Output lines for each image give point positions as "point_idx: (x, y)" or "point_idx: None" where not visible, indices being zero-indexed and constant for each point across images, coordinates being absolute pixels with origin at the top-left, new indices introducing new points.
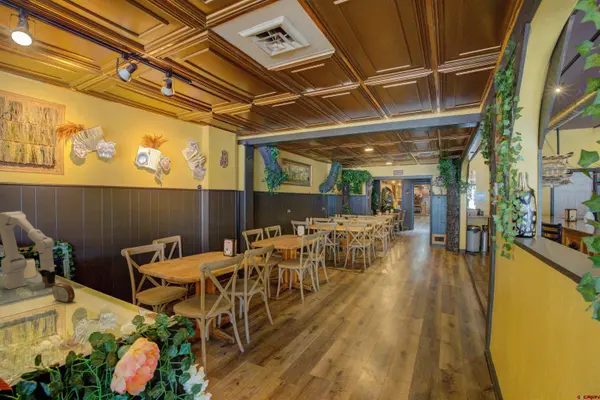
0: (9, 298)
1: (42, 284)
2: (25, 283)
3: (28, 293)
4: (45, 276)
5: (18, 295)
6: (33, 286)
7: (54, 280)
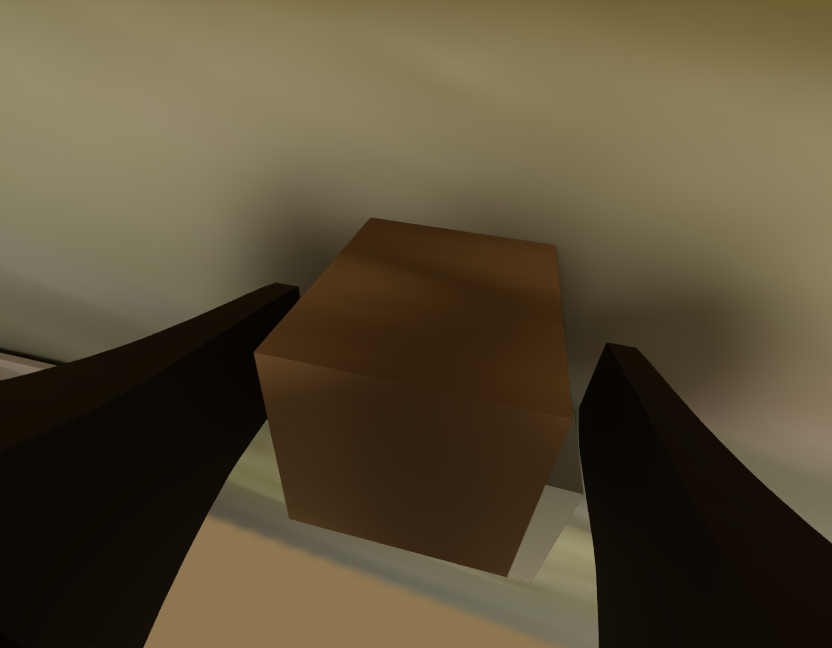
0: (540, 626)
1: (570, 505)
2: (3, 363)
3: (580, 555)
4: (340, 497)
5: (527, 586)
6: (533, 572)
7: (558, 317)
